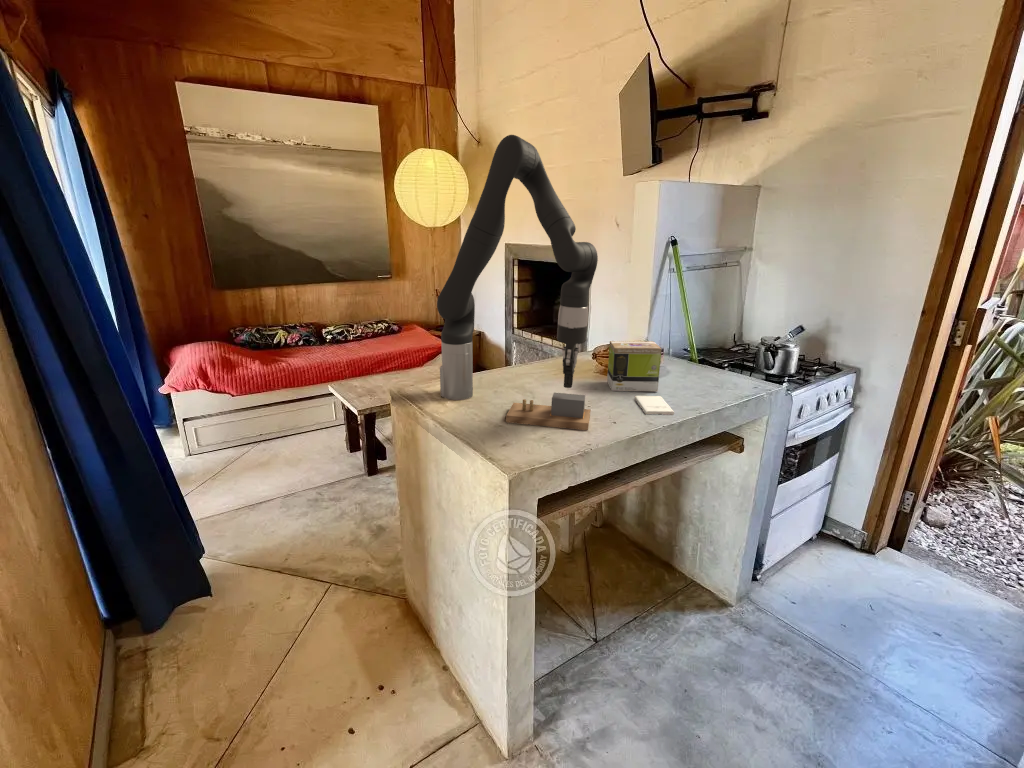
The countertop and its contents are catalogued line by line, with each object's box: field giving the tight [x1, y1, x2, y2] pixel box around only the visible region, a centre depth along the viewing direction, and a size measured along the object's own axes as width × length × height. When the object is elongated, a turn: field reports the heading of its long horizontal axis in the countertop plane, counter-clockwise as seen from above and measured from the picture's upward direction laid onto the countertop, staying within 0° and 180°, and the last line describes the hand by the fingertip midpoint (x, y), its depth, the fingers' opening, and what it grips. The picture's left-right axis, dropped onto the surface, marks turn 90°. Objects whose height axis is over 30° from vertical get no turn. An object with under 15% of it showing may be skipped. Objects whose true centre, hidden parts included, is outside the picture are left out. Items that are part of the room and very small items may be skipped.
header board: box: [505, 399, 591, 431], centre depth 135 cm, size 22×10×5 cm, turn 79°
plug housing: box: [550, 392, 586, 418], centre depth 133 cm, size 9×5×5 cm, turn 79°
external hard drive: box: [634, 395, 675, 416], centre depth 146 cm, size 2×8×12 cm
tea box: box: [606, 340, 662, 393], centre depth 161 cm, size 15×10×15 cm, turn 88°
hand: (567, 386), depth 132 cm, fingers closed
